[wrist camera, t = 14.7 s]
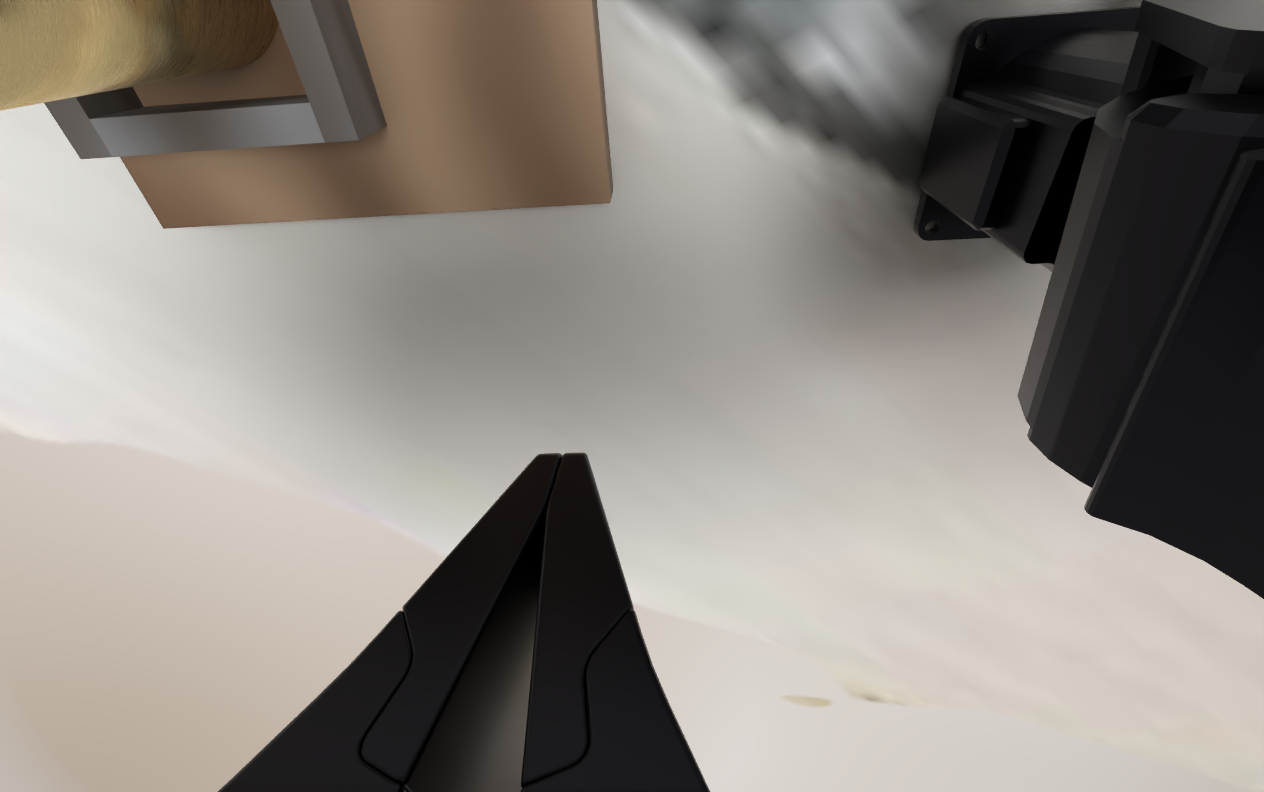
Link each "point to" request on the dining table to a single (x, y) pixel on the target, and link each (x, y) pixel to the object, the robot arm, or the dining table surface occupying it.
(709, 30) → the dining table surface
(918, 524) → the dining table surface
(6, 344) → the dining table surface
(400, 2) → the jig
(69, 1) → the solid brass cylinder
